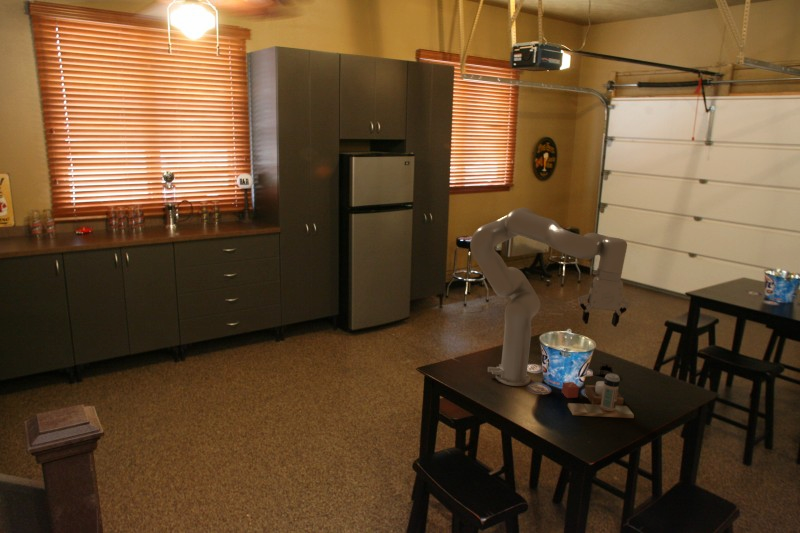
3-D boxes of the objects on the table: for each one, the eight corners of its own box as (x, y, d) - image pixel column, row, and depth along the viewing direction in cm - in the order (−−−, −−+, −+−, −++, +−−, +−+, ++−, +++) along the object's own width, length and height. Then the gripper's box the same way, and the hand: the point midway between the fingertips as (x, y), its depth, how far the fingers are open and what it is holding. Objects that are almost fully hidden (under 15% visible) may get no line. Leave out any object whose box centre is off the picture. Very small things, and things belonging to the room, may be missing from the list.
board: (573, 415, 192) (573, 411, 192) (567, 405, 199) (568, 402, 198) (633, 418, 193) (634, 414, 192) (626, 408, 199) (626, 405, 199)
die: (567, 398, 204) (568, 387, 203) (561, 392, 208) (562, 382, 207) (577, 397, 205) (579, 386, 204) (571, 392, 209) (572, 381, 208)
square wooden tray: (593, 406, 199) (594, 397, 199) (584, 392, 209) (585, 384, 208) (622, 407, 200) (623, 399, 199) (612, 394, 209) (613, 386, 209)
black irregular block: (587, 376, 224) (589, 365, 223) (589, 369, 231) (590, 358, 230) (622, 383, 220) (624, 371, 219) (622, 375, 227) (624, 364, 226)
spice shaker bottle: (613, 406, 197) (618, 373, 195) (616, 413, 193) (622, 379, 190) (598, 404, 198) (603, 371, 195) (601, 411, 193) (607, 378, 190)
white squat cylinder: (597, 401, 201) (599, 388, 200) (591, 393, 207) (593, 380, 206) (614, 402, 201) (616, 389, 200) (608, 394, 207) (610, 381, 206)
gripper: (585, 276, 190) (576, 325, 194) (639, 281, 189) (628, 330, 194) (579, 269, 197) (571, 317, 201) (631, 274, 197) (621, 322, 201)
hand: (599, 323), depth 198 cm, fingers open, 9 cm apart
